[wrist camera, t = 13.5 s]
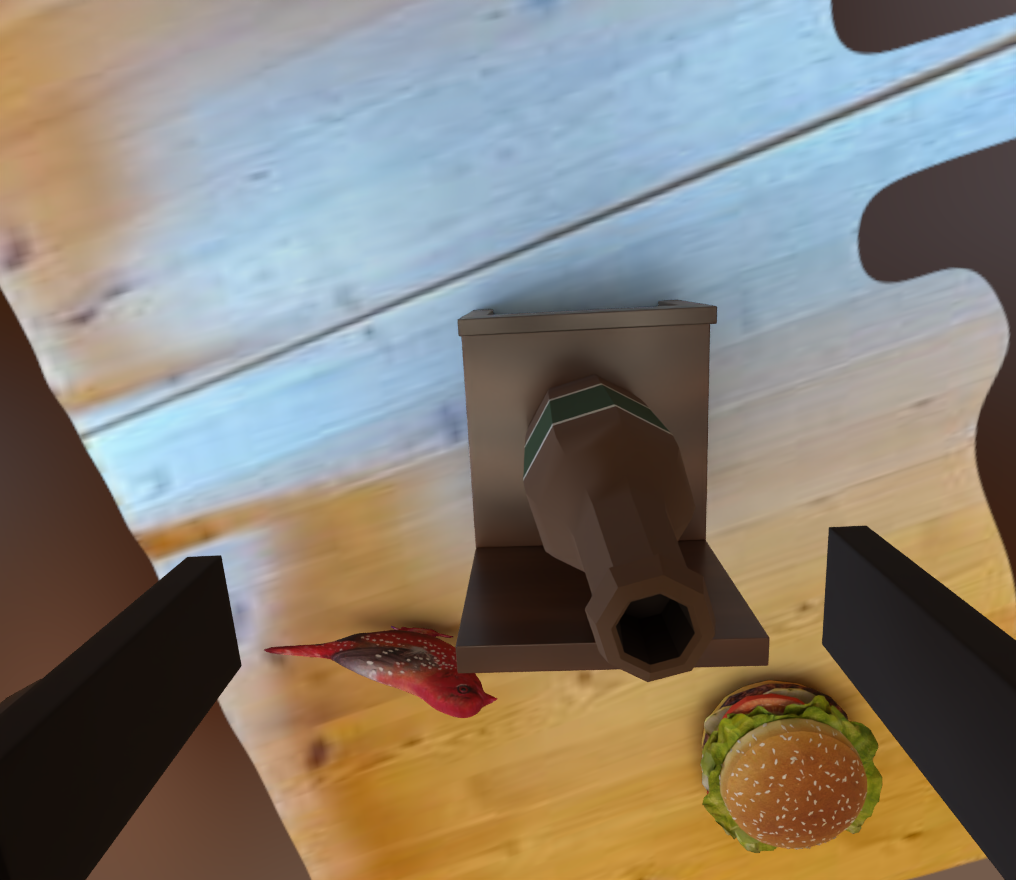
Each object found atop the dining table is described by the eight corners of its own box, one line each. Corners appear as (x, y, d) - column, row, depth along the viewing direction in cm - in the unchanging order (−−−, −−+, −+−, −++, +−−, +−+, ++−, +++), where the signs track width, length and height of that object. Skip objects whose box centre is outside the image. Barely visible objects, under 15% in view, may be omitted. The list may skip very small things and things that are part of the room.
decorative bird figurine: (499, 656, 56) (492, 736, 46) (291, 625, 56) (240, 698, 46) (504, 626, 55) (498, 700, 45) (293, 594, 55) (242, 662, 45)
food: (684, 810, 59) (707, 891, 51) (691, 669, 55) (717, 732, 48) (843, 811, 58) (890, 893, 51) (859, 669, 55) (913, 733, 47)
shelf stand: (473, 310, 49) (430, 334, 29) (678, 299, 48) (784, 316, 28) (486, 520, 53) (457, 673, 33) (676, 513, 52) (768, 665, 32)
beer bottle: (657, 376, 41) (823, 512, 17) (641, 496, 43) (773, 764, 19) (530, 366, 41) (528, 488, 18) (520, 487, 43) (506, 741, 19)
